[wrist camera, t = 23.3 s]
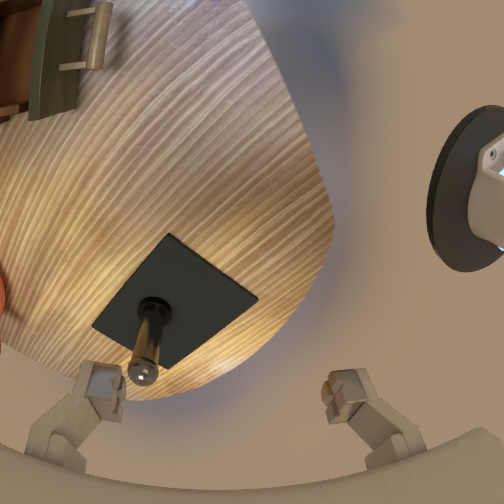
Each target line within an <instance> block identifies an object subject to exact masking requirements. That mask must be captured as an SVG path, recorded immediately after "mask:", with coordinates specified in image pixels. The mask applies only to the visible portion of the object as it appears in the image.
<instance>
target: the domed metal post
mask: <svg viewBox="0 0 504 504" xmlns="http://www.w3.org/2000/svg"><path fill="white" fill-rule="evenodd" d="M171 313H172V310H171V307H170V305H169V304H168V303H167V302H166V301H165V300H163V299H161V298H159V297H146V298H144V299H142V300H141V301H140V303H139V306H138V309H137V315H138V318H139V319H140V324H139V328H138V332H137V336H136V340H135V345H134V349H133V353H132V358H131V361H130V362H129V364H128V369H127V371H128V375H129V378H130V379H131V380H132V381H133V382H134V383H135V384H137V385H139V386H149V385H151V384H153V383H154V382H155V381H156V380H157V378H158V374H159V370H158V361H159V354H160V347H161V341H162V334H163V328H164V326H165V325H167V324H168V323H169V322H170V319H171Z"/></svg>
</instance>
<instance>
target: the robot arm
mask: <svg viewBox="0 0 504 504" xmlns="http://www.w3.org/2000/svg"><path fill="white" fill-rule="evenodd" d="M468 222H469V226H470V229H471V231H472V232H473V233H474V235H476V236H477V237H479V238H482V239H485V240H487V241H489V242H491V243H493V244H495V245H497V246H499V248H500V249H501V250H502V251H503V250H504V133H502V134H501V135H499V136H498V137H497V138H495V139H494V140H492V141H491V142H489V143H488V144H487V145H485V146H484V147H482V148H481V150H480V151H479V155H478V164H477V173H476V177H475V179H474V182H473V185H472V188H471V192H470V196H469V201H468ZM328 378H329V379H328V380H327V381H325V382H324V384H323V386H322V390H321V396H322V401H323V403H324V404H325V405H326V406H327V407H328V408H327V409H326V415H327V418H328V422H329V424H337V423H344V422H347V424H348V425H349V426H350V427H351V428H352V429H353V430H354V431H355V432H356V433H357V434H358V435H359V436H360V437H361V438H362V439H363V440H364V441H365V442H366V443H367V444H368V445H369V446H370V448H371V449H372V450H373V451H372V452H371V453H370V454H368V455H367V456H366V457H365V459H364V460H365V463H366V467H367V471H363V472H359V473H355V474H351V475H347V476H342V477H338V478H333V479H328V480H323V481H317V482H311V483H305V484H298V485H290V486H282V487H272V488H260V489H243V490H197V489H179V488H167V487H157V486H149V485H141V484H134V483H128V482H123V481H117V480H112V479H107V478H102V477H98V476H94V475H90V474H85V469H86V459H85V458H84V457H83V456H82V455H81V454H80V453H79V452H78V451H77V450H76V449H77V448H78V447H79V446H80V445H81V444H82V442H83V441H84V440H85V439H86V438H87V437H88V435H89V434H90V433H91V432H92V431H93V430H94V429H95V427H96V426H97V425H98V424H99V423H100V422H101V420H106V421H112V422H120V423H121V420H122V413H123V407H122V404H121V402H122V401H123V400H124V399H125V395H126V381H125V377H124V376H122V368H121V366H119V365H113V364H106V363H100V362H96V361H89V360H83V362H82V363H81V366H80V369H79V372H78V375H77V378H76V382H75V385H74V388H73V392H72V394H67V395H66V396H65V397H64V398H63V399H61V400H60V401H59V402H58V403H57V404H56V405H54V406H53V407H52V408H51V409H50V410H49V411H47V412H46V413H45V414H44V415H43V416H42V417H41V418H39V419H38V420H37V421H36V422H35V423H34V424H33V425H32V426H31V429H30V433H29V437H28V441H27V445H26V449H25V452H24V453H21V452H19V451H16V450H14V449H12V448H9V447H7V446H5V445H3V444H1V443H0V504H504V445H503V443H502V442H501V440H500V439H499V438H498V437H496V436H495V435H494V434H492V433H491V432H489V431H488V430H486V429H484V428H482V427H478V428H475V429H473V430H471V431H469V432H467V433H465V434H463V435H461V436H459V437H457V438H455V439H453V440H451V441H448V442H446V443H444V444H441V445H439V446H437V447H434V448H432V449H430V450H427V448H426V445H425V443H424V441H423V438H422V435H421V433H420V431H419V428H418V426H416V425H415V424H414V423H412V422H411V421H410V420H409V419H407V418H406V417H405V416H403V415H402V414H401V413H400V412H398V411H397V410H396V409H394V408H393V407H392V406H390V405H389V404H388V403H387V402H386V401H384V400H383V399H382V398H381V399H379V398H378V396H377V393H376V391H375V388H374V386H373V384H372V381H371V379H370V377H369V374H368V372H367V370H366V369H365V368H359V369H348V370H339V371H332V372H330V373H329V375H328Z"/></svg>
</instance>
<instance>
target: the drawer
mask: <svg viewBox="0 0 504 504" xmlns="http://www.w3.org/2000/svg"><path fill="white" fill-rule="evenodd" d="M89 2H90V0H0V117H1V116H7V115H14V114H19V113H23V112H26V111H29V118H28V120H29V121H33V120H40V119H43V118H46V117H49V116H53V115H56V114H59V113H62V112H66V111H69V110H73V109H75V106H76V90H77V78H78V69H83V68H86V70H100V69H103V62H104V54H105V47H106V41H107V35H108V29H109V24H110V18H111V13H112V9H113V3H110V2H103V3H99V4H97V7H90V8H88V7H89ZM92 14H95V17H94V22H93V27H92V33H91V39H90V45H89V52H88V59H87V61H83V62H79V59H80V52H81V45H82V38H83V32H84V27H85V21H86V16H87V15H92Z"/></svg>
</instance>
